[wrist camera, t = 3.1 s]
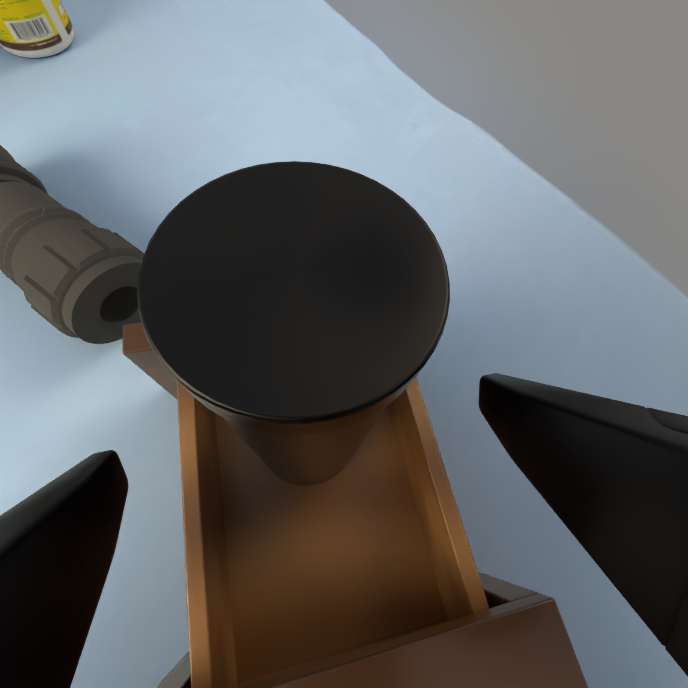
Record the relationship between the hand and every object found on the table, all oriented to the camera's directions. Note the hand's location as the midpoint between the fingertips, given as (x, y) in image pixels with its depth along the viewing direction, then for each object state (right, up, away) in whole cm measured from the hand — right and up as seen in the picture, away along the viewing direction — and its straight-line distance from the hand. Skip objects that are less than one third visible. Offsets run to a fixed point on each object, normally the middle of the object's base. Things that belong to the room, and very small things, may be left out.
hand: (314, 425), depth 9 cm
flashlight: (-16, +7, +13) cm, 22 cm away
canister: (-1, -2, +8) cm, 8 cm away
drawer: (-1, -4, +8) cm, 9 cm away
